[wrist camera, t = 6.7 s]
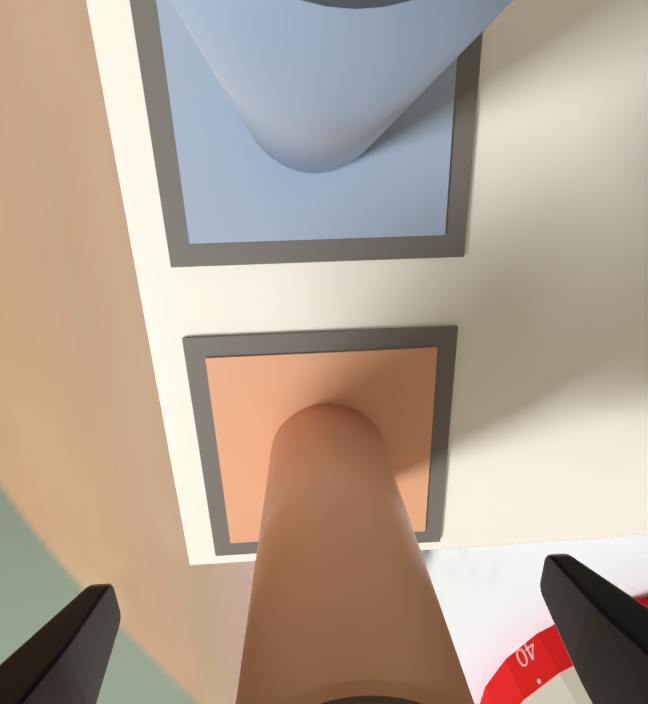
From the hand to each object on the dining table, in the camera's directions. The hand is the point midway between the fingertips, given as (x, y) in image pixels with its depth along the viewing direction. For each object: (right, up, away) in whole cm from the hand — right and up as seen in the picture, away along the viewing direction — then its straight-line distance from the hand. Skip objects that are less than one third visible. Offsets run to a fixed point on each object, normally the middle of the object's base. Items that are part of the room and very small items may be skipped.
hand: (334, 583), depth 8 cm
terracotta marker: (0, +2, +4) cm, 5 cm away
